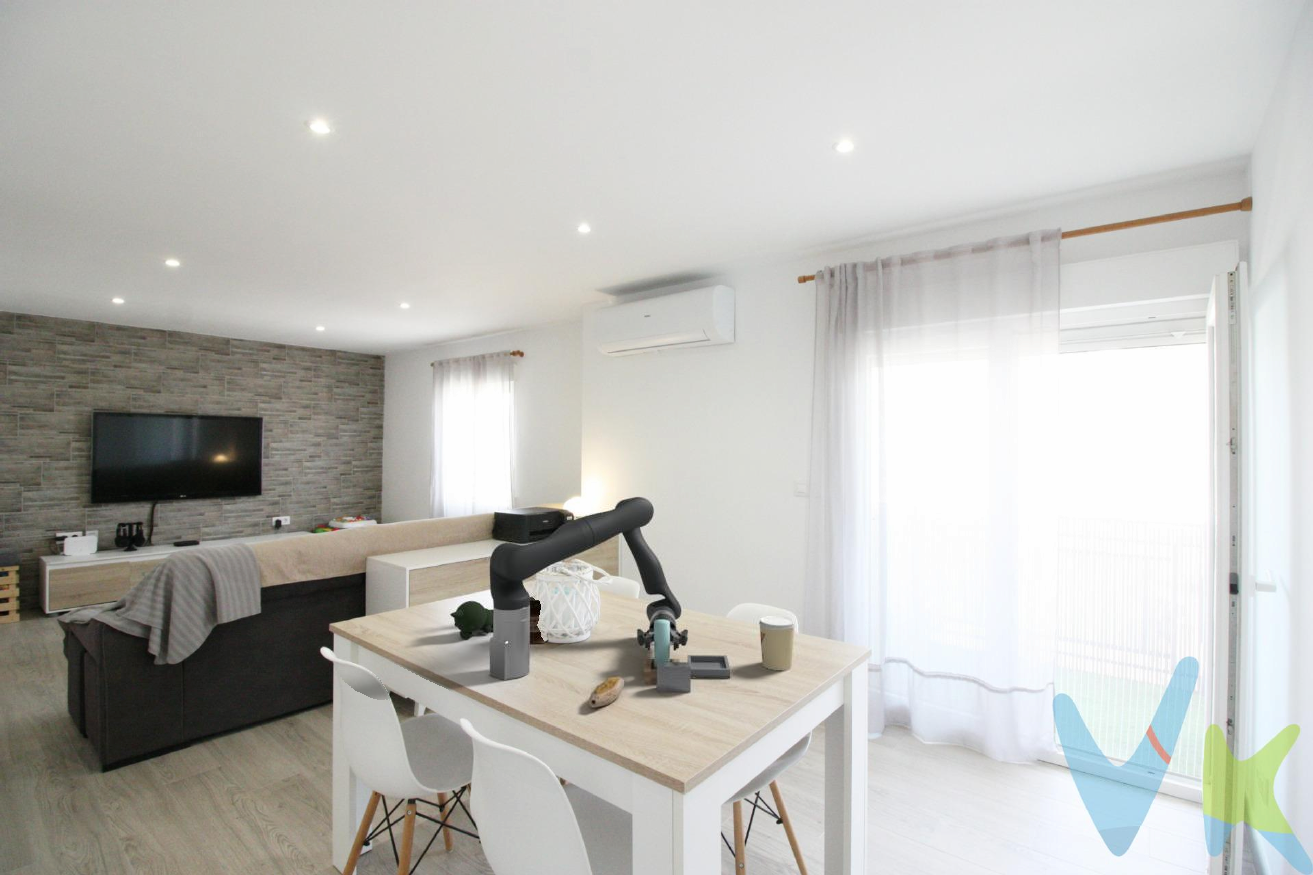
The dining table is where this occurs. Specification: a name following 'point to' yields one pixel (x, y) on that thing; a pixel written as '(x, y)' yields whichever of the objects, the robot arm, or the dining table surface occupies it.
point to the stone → (606, 692)
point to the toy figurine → (472, 619)
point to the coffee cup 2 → (777, 642)
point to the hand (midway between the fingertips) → (661, 646)
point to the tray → (709, 666)
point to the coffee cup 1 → (535, 621)
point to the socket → (652, 671)
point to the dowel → (661, 641)
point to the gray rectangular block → (673, 677)
